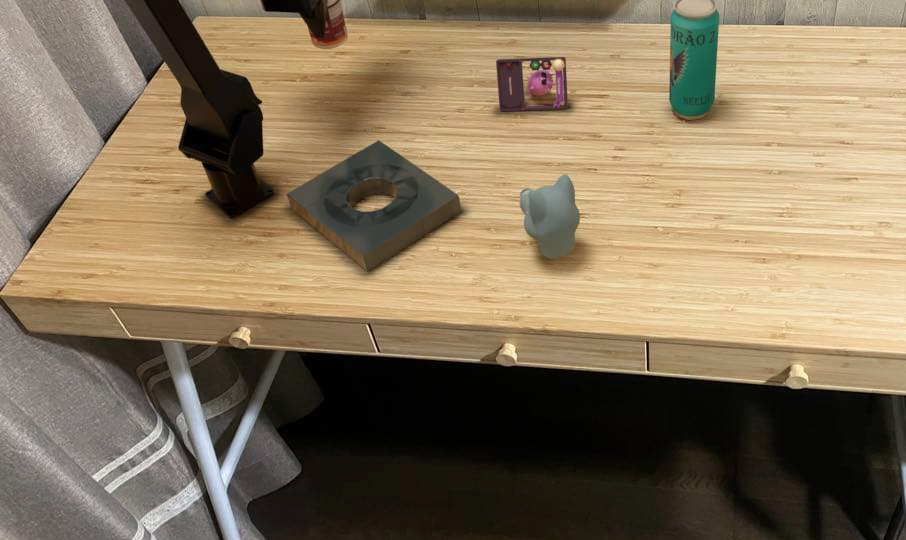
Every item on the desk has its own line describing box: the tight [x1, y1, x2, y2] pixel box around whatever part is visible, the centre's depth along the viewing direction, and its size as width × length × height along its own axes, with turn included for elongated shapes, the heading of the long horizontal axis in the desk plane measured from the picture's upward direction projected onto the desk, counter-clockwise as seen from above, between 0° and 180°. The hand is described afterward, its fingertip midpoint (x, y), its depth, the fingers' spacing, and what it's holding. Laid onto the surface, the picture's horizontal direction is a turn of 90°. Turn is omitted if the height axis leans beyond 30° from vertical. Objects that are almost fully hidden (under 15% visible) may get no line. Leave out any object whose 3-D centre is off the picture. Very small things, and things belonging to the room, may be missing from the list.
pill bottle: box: [307, 0, 349, 50], centre depth 128 cm, size 5×5×8 cm
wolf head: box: [519, 173, 581, 260], centre depth 112 cm, size 6×9×10 cm
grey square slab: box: [285, 140, 462, 272], centre depth 121 cm, size 16×14×2 cm
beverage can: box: [668, 0, 720, 121], centre depth 125 cm, size 6×6×15 cm
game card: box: [495, 56, 569, 112], centre depth 133 cm, size 7×5×9 cm
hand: (326, 26), depth 129 cm, fingers closed on pill bottle, 5 cm apart
